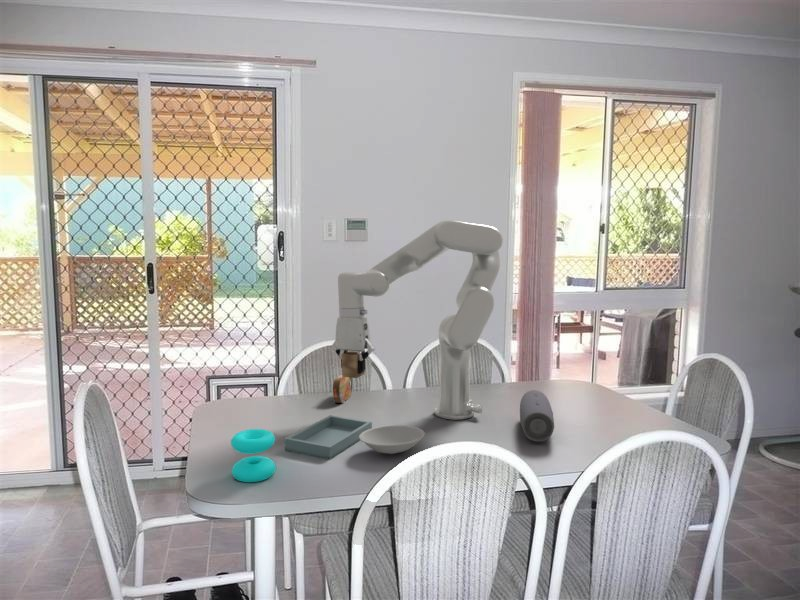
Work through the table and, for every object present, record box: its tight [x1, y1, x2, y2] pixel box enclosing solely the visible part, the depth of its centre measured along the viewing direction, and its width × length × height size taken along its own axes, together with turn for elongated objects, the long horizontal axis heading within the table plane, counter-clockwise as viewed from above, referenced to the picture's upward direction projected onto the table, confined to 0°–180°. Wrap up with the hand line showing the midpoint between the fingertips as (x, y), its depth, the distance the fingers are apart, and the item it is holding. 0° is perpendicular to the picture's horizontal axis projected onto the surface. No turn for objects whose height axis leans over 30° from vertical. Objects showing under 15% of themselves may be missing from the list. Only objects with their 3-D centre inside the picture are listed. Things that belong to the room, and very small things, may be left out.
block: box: [341, 350, 365, 379], centre depth 178 cm, size 5×5×7 cm
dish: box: [359, 424, 426, 455], centre depth 151 cm, size 18×14×5 cm
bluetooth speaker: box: [519, 389, 555, 442], centre depth 168 cm, size 23×9×10 cm, turn 170°
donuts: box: [230, 428, 276, 483], centre depth 137 cm, size 10×10×10 cm
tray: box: [284, 414, 373, 460], centre depth 160 cm, size 14×22×3 cm, turn 154°
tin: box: [332, 373, 353, 404], centre depth 199 cm, size 15×3×8 cm, turn 168°
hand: (353, 371), depth 178 cm, fingers closed on block, 4 cm apart
